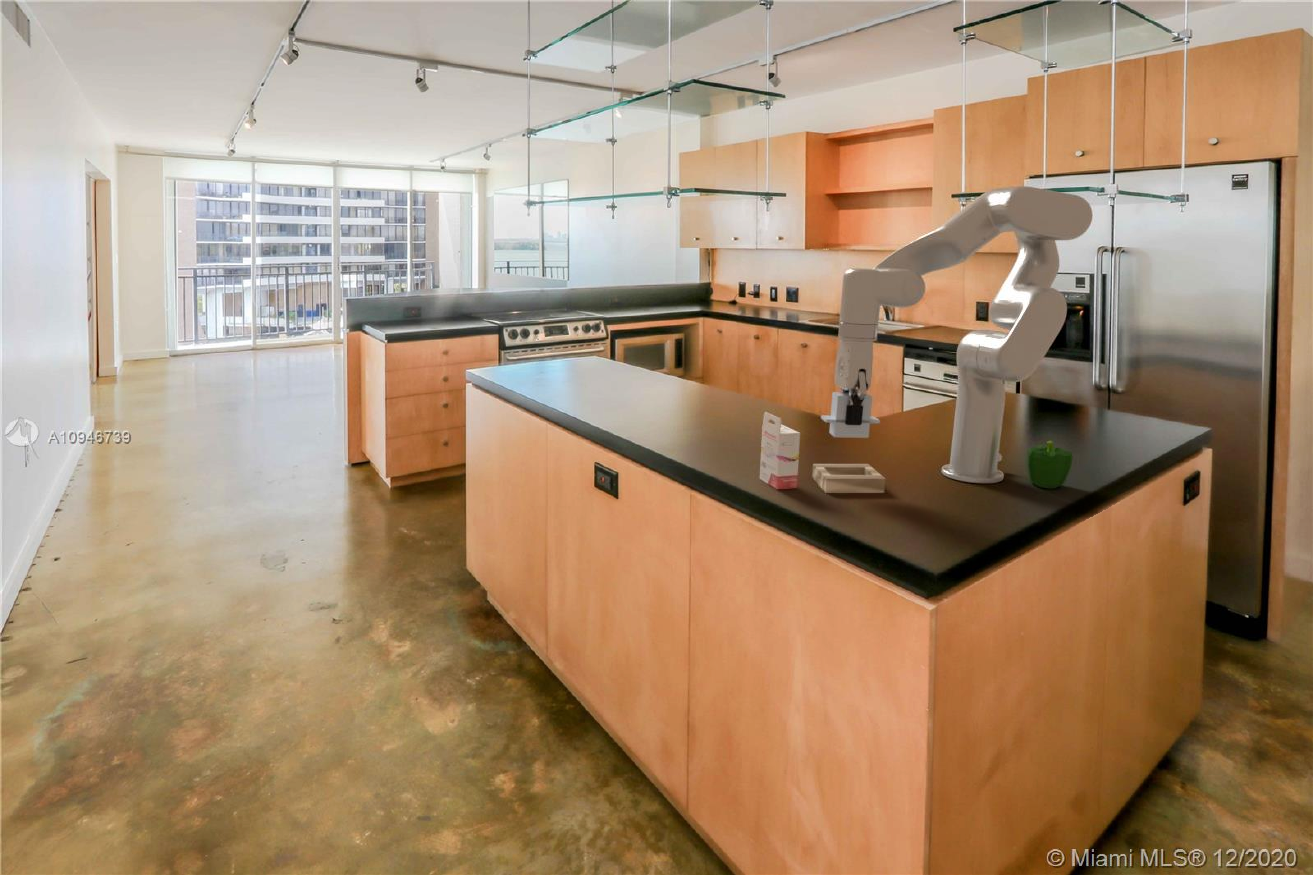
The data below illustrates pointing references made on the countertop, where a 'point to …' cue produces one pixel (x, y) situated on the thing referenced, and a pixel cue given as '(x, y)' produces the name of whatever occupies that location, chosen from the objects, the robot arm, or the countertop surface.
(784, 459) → the ink cartridge box
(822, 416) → the servo
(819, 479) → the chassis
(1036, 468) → the bell pepper
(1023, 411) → the countertop surface
